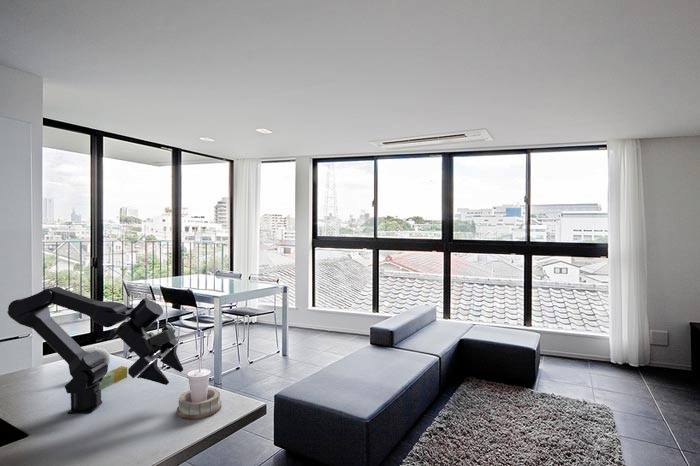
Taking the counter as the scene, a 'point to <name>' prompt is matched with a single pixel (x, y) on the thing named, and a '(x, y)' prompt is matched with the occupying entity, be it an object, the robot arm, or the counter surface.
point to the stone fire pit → (199, 405)
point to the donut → (101, 353)
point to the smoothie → (199, 383)
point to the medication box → (113, 377)
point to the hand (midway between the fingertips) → (175, 377)
